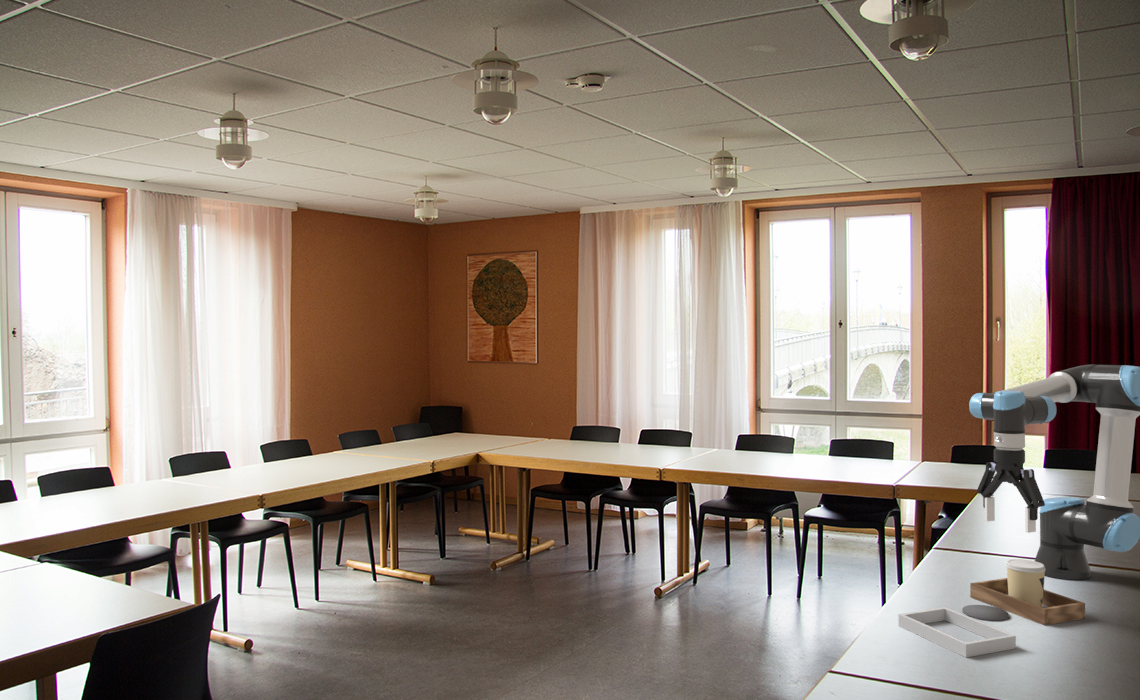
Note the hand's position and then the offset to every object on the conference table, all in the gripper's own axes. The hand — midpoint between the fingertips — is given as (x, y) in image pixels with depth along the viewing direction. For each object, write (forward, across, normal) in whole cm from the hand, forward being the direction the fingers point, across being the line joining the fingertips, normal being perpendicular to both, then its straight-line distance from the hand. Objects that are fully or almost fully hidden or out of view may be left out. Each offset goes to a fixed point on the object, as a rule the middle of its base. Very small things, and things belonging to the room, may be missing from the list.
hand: (1009, 526), depth 226 cm
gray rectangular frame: (+22, +13, -30) cm, 40 cm away
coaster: (+22, +2, -11) cm, 24 cm away
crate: (+22, +2, +3) cm, 22 cm away
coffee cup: (+22, +2, +3) cm, 23 cm away
